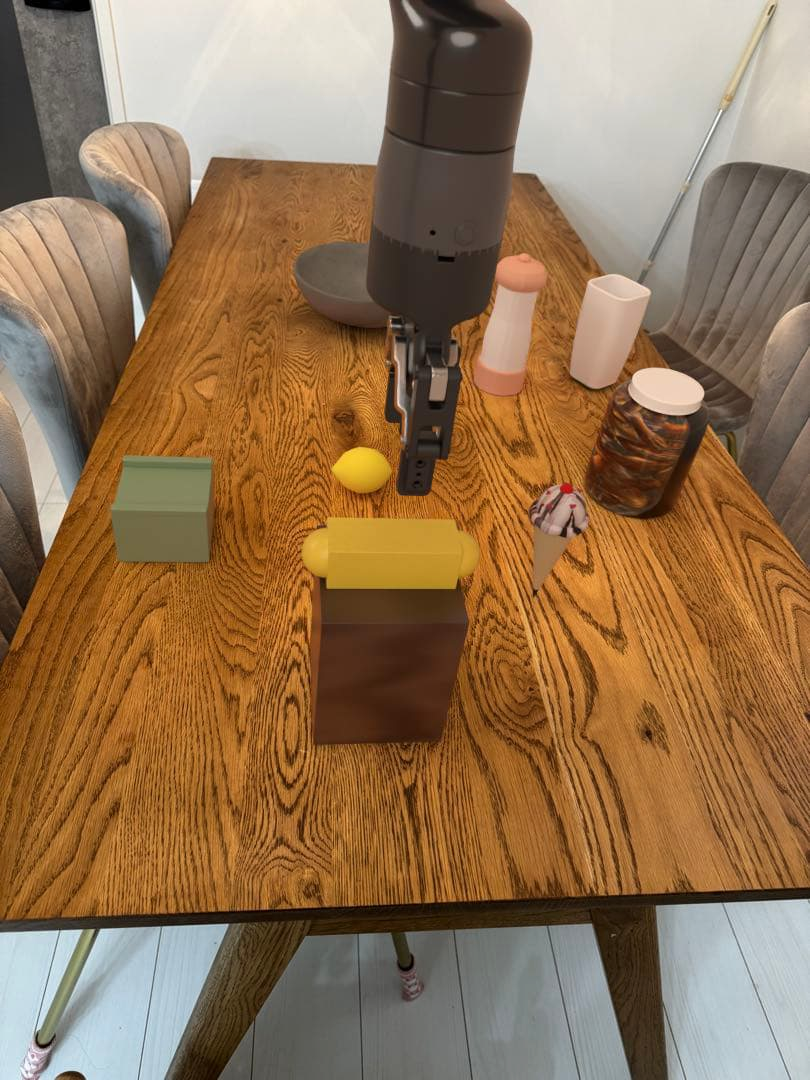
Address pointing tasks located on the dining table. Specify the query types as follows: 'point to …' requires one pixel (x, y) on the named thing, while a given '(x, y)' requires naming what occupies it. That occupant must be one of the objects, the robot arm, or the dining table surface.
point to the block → (164, 509)
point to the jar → (647, 443)
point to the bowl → (339, 283)
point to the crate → (384, 662)
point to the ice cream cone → (555, 527)
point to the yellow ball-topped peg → (390, 553)
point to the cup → (607, 329)
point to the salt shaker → (510, 326)
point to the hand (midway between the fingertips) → (405, 454)
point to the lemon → (362, 470)
